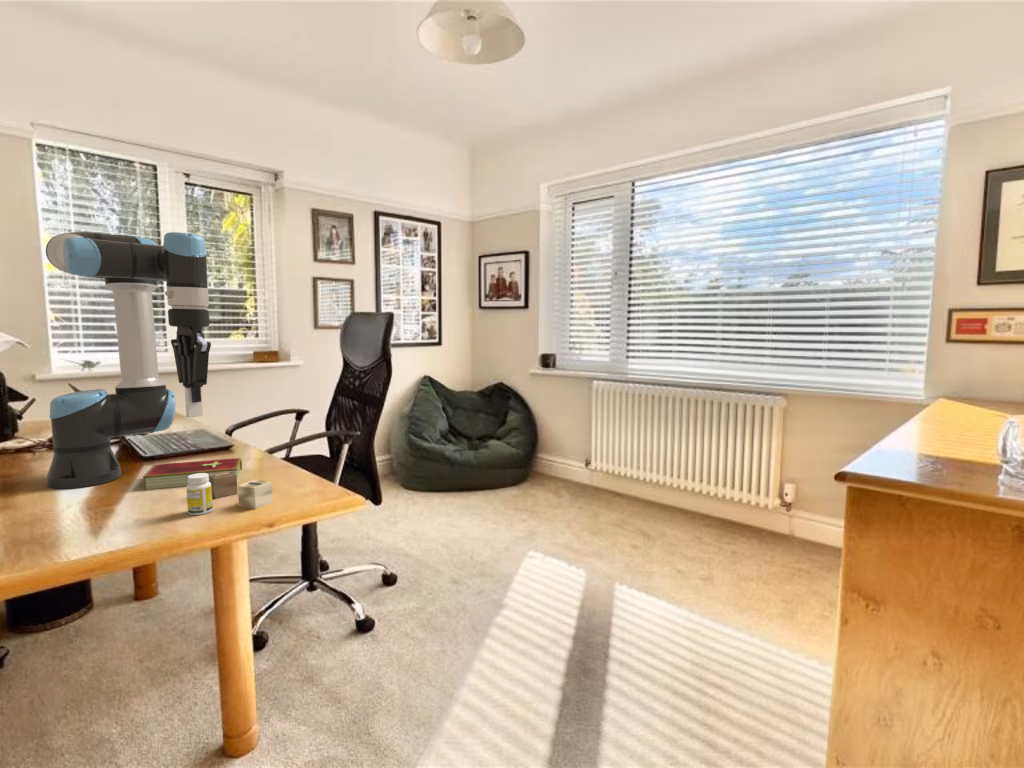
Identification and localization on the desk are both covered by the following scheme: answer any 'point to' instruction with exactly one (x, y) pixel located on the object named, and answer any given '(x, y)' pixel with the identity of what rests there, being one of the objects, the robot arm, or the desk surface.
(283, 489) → the desk surface
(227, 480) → the walnut block
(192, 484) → the supplement bottle
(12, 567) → the desk surface
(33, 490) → the desk surface
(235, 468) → the hardcover book
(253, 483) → the beech block
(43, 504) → the desk surface
